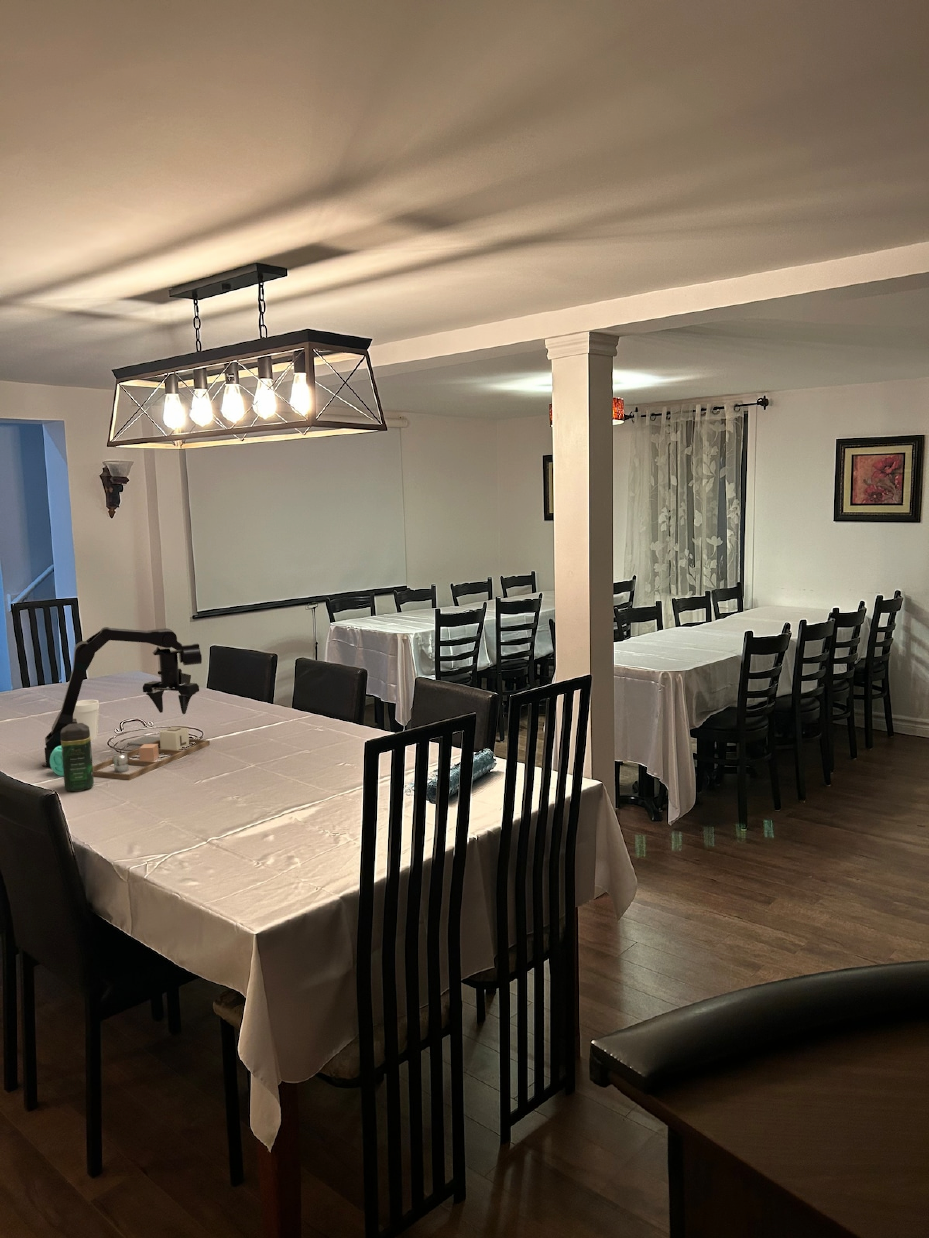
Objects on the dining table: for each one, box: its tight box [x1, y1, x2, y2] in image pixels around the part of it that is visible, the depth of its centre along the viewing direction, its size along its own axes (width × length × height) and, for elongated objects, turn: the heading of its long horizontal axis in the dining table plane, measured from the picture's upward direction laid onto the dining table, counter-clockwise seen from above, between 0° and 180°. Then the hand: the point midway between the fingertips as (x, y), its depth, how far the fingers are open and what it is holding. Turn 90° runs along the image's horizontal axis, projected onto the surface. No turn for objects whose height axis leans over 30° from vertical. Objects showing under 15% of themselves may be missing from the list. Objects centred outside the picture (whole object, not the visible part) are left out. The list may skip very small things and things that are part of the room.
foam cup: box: [73, 699, 100, 741], centre depth 316 cm, size 10×9×13 cm
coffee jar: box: [60, 723, 94, 792], centre depth 261 cm, size 10×8×19 cm
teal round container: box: [50, 746, 64, 777], centre depth 277 cm, size 8×8×8 cm
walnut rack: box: [93, 738, 211, 781], centre depth 289 cm, size 39×18×2 cm, turn 160°
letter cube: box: [159, 726, 190, 750], centre depth 300 cm, size 6×7×7 cm
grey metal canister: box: [112, 752, 129, 774], centre depth 277 cm, size 4×4×5 cm
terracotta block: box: [138, 744, 160, 762], centre depth 289 cm, size 4×4×4 cm
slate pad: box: [126, 735, 160, 747], centre depth 310 cm, size 9×9×1 cm
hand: (172, 713), depth 299 cm, fingers open, 9 cm apart
